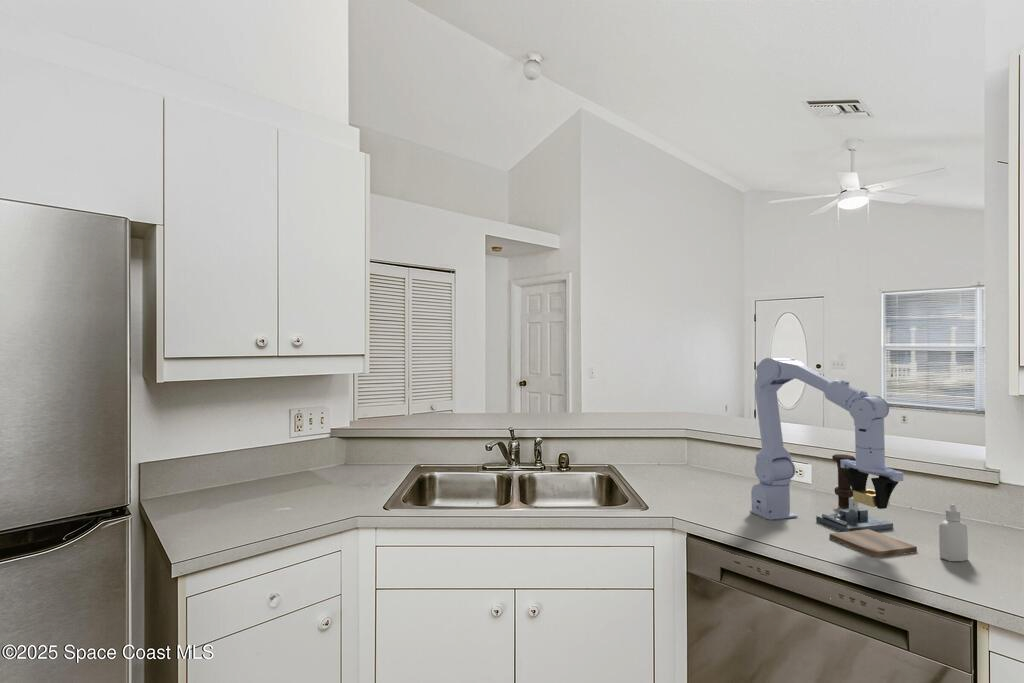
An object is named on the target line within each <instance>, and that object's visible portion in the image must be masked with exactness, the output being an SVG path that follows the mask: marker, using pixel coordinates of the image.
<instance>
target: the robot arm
mask: <svg viewBox="0 0 1024 683" xmlns="http://www.w3.org/2000/svg"><path fill="white" fill-rule="evenodd" d="M755 369H756V379H755V382H754V392H755V400H756V409H757V417H758V426H759V433H760V442H761V443H760V444H761V449H759V451H758V453H757V454H756V455H755V465H754V474H755V476H756V477H757V479H758V480H759V481H758V483H756V484H753V486H752V488H751V492H750V493H751V497H750V498H751V499H750V500H751V509H749V512H750V513H753V514H755V515H756V516H757V515H758V516H760V517H762V518H764V519H766V520H771V521H772V520H780V519H781V520H782V519H791V518H792V519H793V518H798V514H796V513H793V512H791V498H790V497H791V494H790V493H791V491H790V489H791V486H790V483H792V481H791V480H792V479H793V478H794V476H795V474H796V466H795V464H794V462H793V461H792V456H791V453H790V452H789V450H787V449H786V448H785V447H784V441H783V432H782V424H781V415H780V409H779V401H778V391H779V390H780V388H782V387H783V385H785V384H786V383H789V382H790V381H793V380H795V379H796V380H799V381H801V382H803V383H805V384H807V385H809V386H811V387H813V388H815V389H817V390H819V391H821V392H823V394H824V397H825V399H826V400H828V401H829V402H831V403H833V404H835V405H836V406H838V407H840V408H841V409H844V410H846V411H847V412H848V413H849V415H850V416H851V417H852V419H853V426H854V437H855V438H854V439H855V440H854V441H855V443H854V444H855V448H854V449H855V450H854V452H855V459H856V461H852V460H847V459H846V460H841V468H848V471H845V472H844V475H845V476H846V478H847V479H848V481H849V483H850V485H851V486H850V488H851V489H852V490H864V489H867V482H868V478H869V475H872V476H876V477H871V478H870V479H871V480H870V481H871V482H872V485H873V488H874V489H873V490H875V493H876V505H877V507H876V509H879V510H883V509H887V508H888V506H889V505H888V501H889V502H890V498H891V495H892V493H893V491H894V490H895V488H896V486H897V485H898V484H899V482H904V472H902V471H900V470H895V469H892V468H890V467H887V465H886V461H885V460H886V458H885V457H886V455H885V454H886V450H885V447H886V446H885V418H887V417H888V415H889V413H890V407H889V404H888V402H887V401H886V400H885V399H884V398H883V397H881V396H880V395H877V394H876V395H869V394H868V391H866V390H860V389H858V388H856V387H855V386H852V385H850V381H848V380H846V379H836V380H833V381H832V380H831V379H829V378H827V377H826V376H824V375H822V374H821V373H819V372H817V371H816V370H815V369H812V368H810V367H809V366H807V365H806V364H804V363H803V362H802V361H800V360H797V359H796V358H794V357H790V356H788V357H774V358H773V357H766V358H765V357H764V358H763V359H762V360H761V361H760V362H759V363H758V364H757V365H756V366H755Z"/></svg>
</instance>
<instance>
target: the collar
mask: <svg viewBox="0 0 1024 683" xmlns="http://www.w3.org/2000/svg"><path fill="white" fill-rule="evenodd" d="M852 498H853V501H855V502H858V504H862V505H865V506H867V507H871V508H875V507H876V508H877V505H876V493H875V489H872V488H871V489H870V488H866V489H864V490H853V497H852ZM887 506H890V500H889V501H888V505H887Z"/></svg>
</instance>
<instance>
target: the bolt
mask: <svg viewBox="0 0 1024 683" xmlns="http://www.w3.org/2000/svg"><path fill="white" fill-rule="evenodd" d="M846 459H847V460H852V461H856V456H854V455H850V454H842V453H840V454H839V453H837V454H833V455H832V461H834V462H836V467H837V486H836V487H834V494H835V495H836V496H838V501H837V502H838V503H837V504H838V505H837V506H838V507H840V508H841V509H849V498H853V490H852V488H851V485H850V483H849V481H848V479H847V478H846V476H845V475H844V472H845V471H848V468H841V460H846Z"/></svg>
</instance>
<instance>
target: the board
mask: <svg viewBox="0 0 1024 683" xmlns="http://www.w3.org/2000/svg"><path fill="white" fill-rule="evenodd" d="M829 539H830V540H832V539H833V540H832V541H834V540H835V541H834V542H837V543H839V542H840V543H839V544H841V543H842V544H841V545H844V544H845V545H844V546H846V545H847V547H849V548H851V547H852V549H853V548H854V550H856V551H858V552H860V551H861V553H863V554H866V555H868V556H870V557H873V558H875V559H876V558H882V557H883V556H884V557H888V556H890V555H891V556H897V555H898V556H899V555H903V554H904V553H906V554H912V553H911V552H913V553H917V552H918V547H917V546H915V545H914V544H910V543H907V542H905V541H902V540H899V539H897V538H894V537H891V536H888V535H886V534H882V532H881V533H880V532H879V531H872V530H870V529H865V530H857V531H848V532H842V531H839V532H834V533H832V532H831V533H829ZM904 555H905V554H904ZM891 556H890V557H891ZM884 557H883V558H884Z"/></svg>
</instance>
